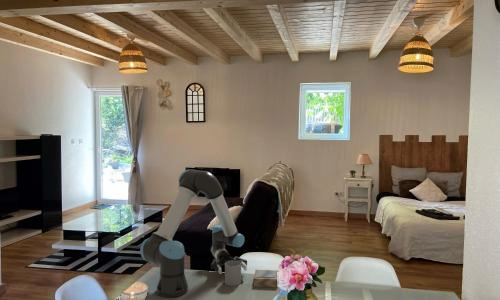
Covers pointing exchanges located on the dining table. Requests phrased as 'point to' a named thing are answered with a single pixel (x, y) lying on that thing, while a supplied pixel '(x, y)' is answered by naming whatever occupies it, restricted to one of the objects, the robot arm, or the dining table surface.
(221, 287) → the dining table surface
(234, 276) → the cup
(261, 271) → the plinth
